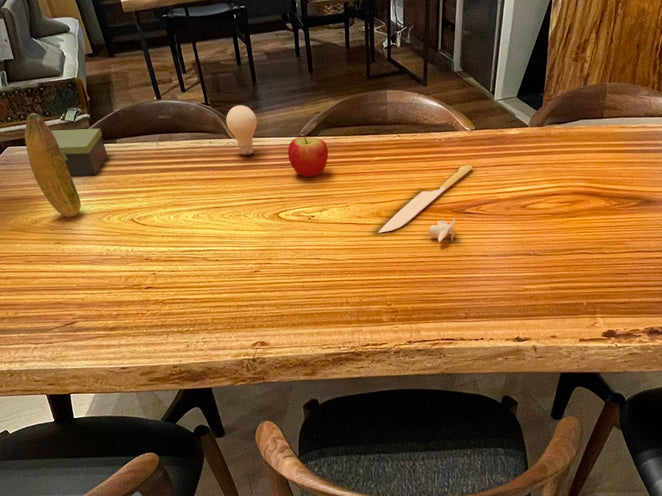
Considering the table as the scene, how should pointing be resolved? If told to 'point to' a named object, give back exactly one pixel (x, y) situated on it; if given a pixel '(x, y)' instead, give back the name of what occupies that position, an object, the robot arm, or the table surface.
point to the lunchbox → (81, 150)
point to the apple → (308, 155)
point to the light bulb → (242, 127)
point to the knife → (421, 202)
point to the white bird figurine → (442, 230)
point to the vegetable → (50, 167)
